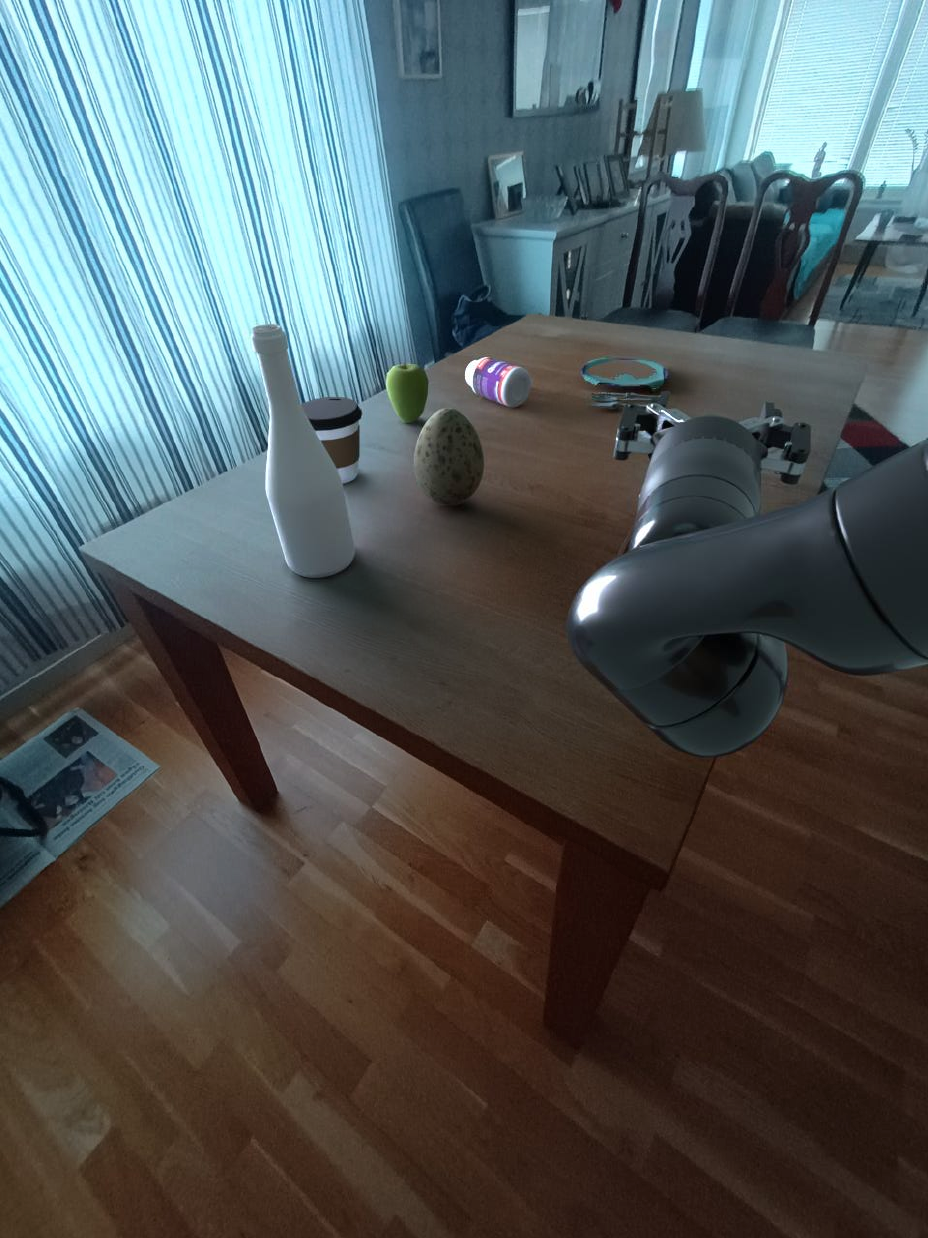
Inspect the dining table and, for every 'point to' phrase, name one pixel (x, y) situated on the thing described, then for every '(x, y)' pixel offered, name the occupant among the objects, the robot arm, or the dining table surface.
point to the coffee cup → (337, 431)
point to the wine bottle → (300, 471)
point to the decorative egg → (448, 458)
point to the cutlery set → (623, 383)
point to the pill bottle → (499, 381)
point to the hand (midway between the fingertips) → (712, 407)
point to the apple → (407, 391)
